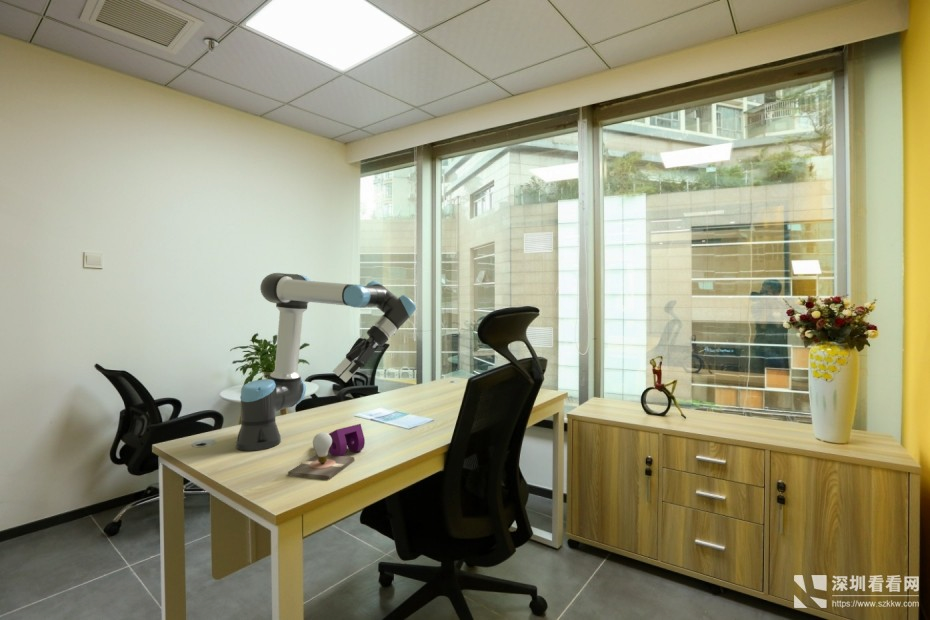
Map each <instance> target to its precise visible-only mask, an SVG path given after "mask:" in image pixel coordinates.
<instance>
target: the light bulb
mask: <svg viewBox="0 0 930 620" xmlns="http://www.w3.org/2000/svg"><path fill="white" fill-rule="evenodd" d="M331 444H332V438H331V436H330V435H329V433H328V432H324V431H323V432H318V433H317V434H316V435H315V436H314V437H313V440H312V447H313V448H314V451H316V454H317V455H318V462H320V463H321V464H324V463H325V462H326V461H327V455H329V454H328V453H329V448H330V446H331Z"/></svg>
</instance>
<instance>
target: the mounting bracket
mask: <svg viewBox="0 0 930 620" xmlns="http://www.w3.org/2000/svg"><path fill="white" fill-rule="evenodd" d="M363 431H364V430H363V428H362V424H361V423H359V424H354V425H351V426H347V427H345V426H344V427H341V428H338V429H335V430H333V431H331V432H329V433H328V434H329V435H330V436H331V438H332V444H331V446H330V448H329V450H328V453H330V454H329V455H332V456H345V455H346V453H347V450H349V451H350V452H352V453H357V452H360V451H363V450H364V447H365V444H366V443H365V436H364V432H363Z"/></svg>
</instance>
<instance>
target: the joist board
mask: <svg viewBox="0 0 930 620" xmlns="http://www.w3.org/2000/svg"><path fill="white" fill-rule="evenodd" d="M354 462H355V457H354V456H345V455H344V456H332V455H331V454H327V461H326V462H325V463H324V464H321V463H320V462H318V455H317V453H316V454H315V455H313V456H312V457H310V458H308V459H306V460H304V461H303V462H301V463H299V465H297V466H295V467H294V468H292V469H290V470H289V471H288V472H287V476H288V477H297V478H307V479H317V480H327V481H330V480H331V479H332V478H334V477H335V476H337V475H338V474H340V473H341V471H343V470H344V469H345V468H347V467H348V466H350V465H351V464H352V463H354Z"/></svg>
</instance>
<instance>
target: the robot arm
mask: <svg viewBox="0 0 930 620" xmlns="http://www.w3.org/2000/svg"><path fill="white" fill-rule="evenodd" d="M259 290H260V293H261V295H262V297H263V298H264V299H265V300H266V301H268V302H270V303H273V304H275V307H276V308H277V309H278V311H279V316H278V319H279V320H278V328H277V329H278V330H277V340H276V353H275V365H274V366H275V367H274V370H273V372H271V373H270V374H269V375H270V376H269V378H267V379H258V380H253V381H249V382H247V383H246V384H243V386H242V387H241V389H240V395H239V396H240V397H239V398H240V421H241V422H240V423H241V425H240V428H239V432H238V434H237V439H236V441H235V448H236V449H237V450H239V451H244V452H247V451H249V452H252V451H261V450H266V449H270V448H274V447H276V446H277V445H278V446H279V444H281V442H282V441H281V438H282V437H281V434H280V431H279V428H278V425H277V422H276V412H278V411H281V410H284V409H287V408H292V407H294V406H296V405H298V404H300V403H301V401H303V399H304V397H305V395H306V391H307V389H306V383H305V381H304V380H303V379H302V374H301V373H300V372H299V371H298V370H299V360H300V348H301V334H302V325H303V315H304V314H303V313H304V312H306V311H307V310H308V304H309V303H316V304H327V305H336V306H345V307H346V306H348V307H351V308H356V309H357V308H360V309H361V308H372V307H373V308H377V309H378V310H380V311H381V312H382V313H384V314H382V315H381V316H380V317H379V318H378V319H377V320H376V322H374V325H372V326H370V328H369V329H368V330H367V331H366V334H367V336H368V338H366V337H365V338H363V340H362V341H360V342H359V343H358V344H357V345H356V346H354V347H353V348H352V349H351V350H350V351H349V352H347V353H346V355H345V358H344V359H343V360H342V361H340V363H339V364H338V365H337V366H336V367H335V368H334V369H333V370H332V372H333V373H334V374H335V376H337V377H339V379H341V380H342V381H343V382H344V383H348V382H349V380H350V379H351V378H352V377H353V376H354V375H355V374H356V373H357V372H358V371H359V369H361V368H362V367H366V364H367V363H368V362H369V360H370V359H371V358H372V356H373V355H374V353H375V351H377V349H379V348H380V347H383V346H384V345H385V344H386V343H387V342H388V341H389V338H392V336H393V335H397V331H398V330H399V328H401V327H402V326H403V325H404V324H405V322H407V320H409V318H410V317H411V316H412V315H413V314H414V313H415V311H416V309H417V307H416V304H415V302H414V301H413V300H412V299H411V298H410V297H408V296H406V295H405V294H401V296H399V297H398V296H397V295H395V294H393V292H391V291H390V290H389V289H388V288H386V287H385V286H384V285H383V284H381V283H380V282H378V281H376V280H372V281H371V282H368V283H367V284H366V285H365V284H354V283H353V284H349V283H338V282H327V281H326V282H325V281H315V280H311V279H310V278H309V277H307V276H305V275H303V274H297V273H296V274H295V273H283V272H282V273H281V272H272V273H270V274H268V275H266V276H265V277H264V278H263V279H262V281H261V283H260V289H259Z"/></svg>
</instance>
